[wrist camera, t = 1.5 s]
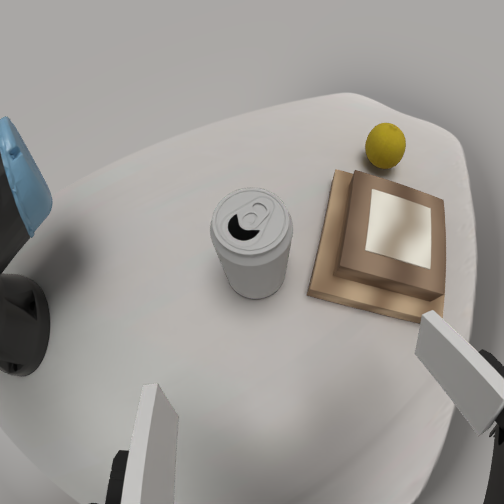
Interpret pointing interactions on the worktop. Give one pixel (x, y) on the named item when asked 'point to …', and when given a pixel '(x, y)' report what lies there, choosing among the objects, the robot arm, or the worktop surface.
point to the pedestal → (381, 248)
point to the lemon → (385, 145)
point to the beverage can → (252, 240)
